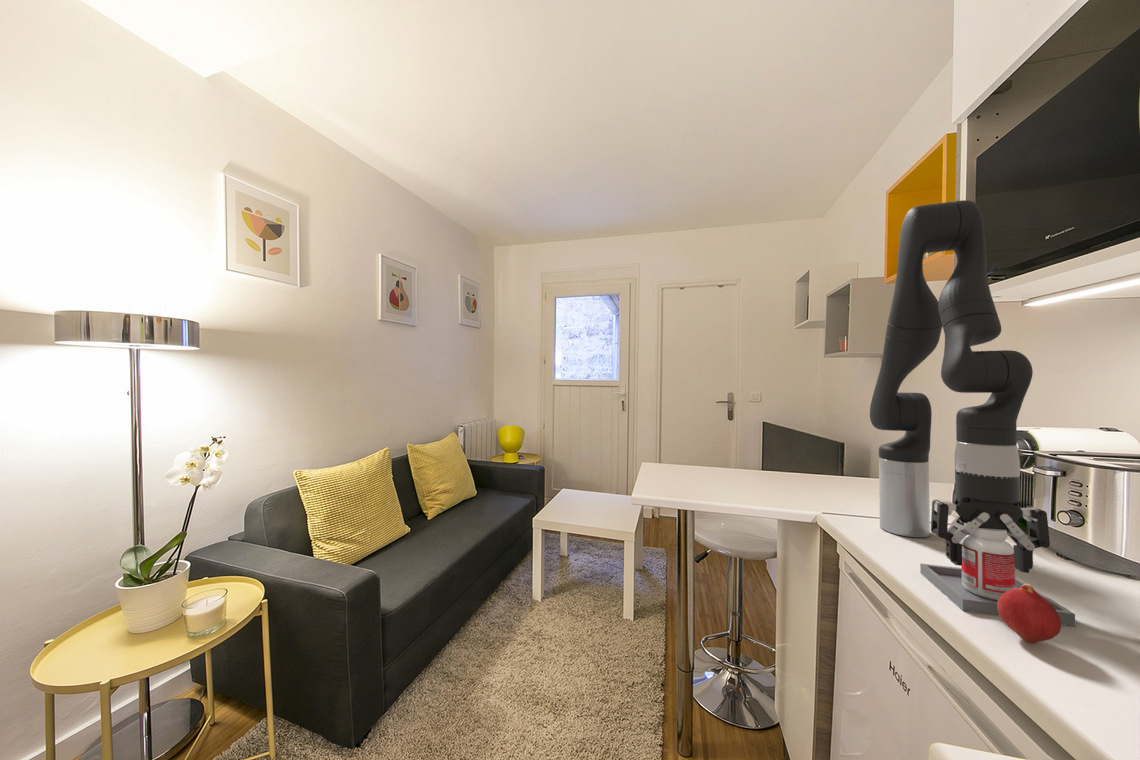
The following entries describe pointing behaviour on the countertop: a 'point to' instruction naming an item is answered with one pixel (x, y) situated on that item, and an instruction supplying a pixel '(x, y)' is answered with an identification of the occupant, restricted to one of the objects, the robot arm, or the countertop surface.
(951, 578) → the slate dish
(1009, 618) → the onion
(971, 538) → the pill bottle
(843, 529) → the countertop surface
